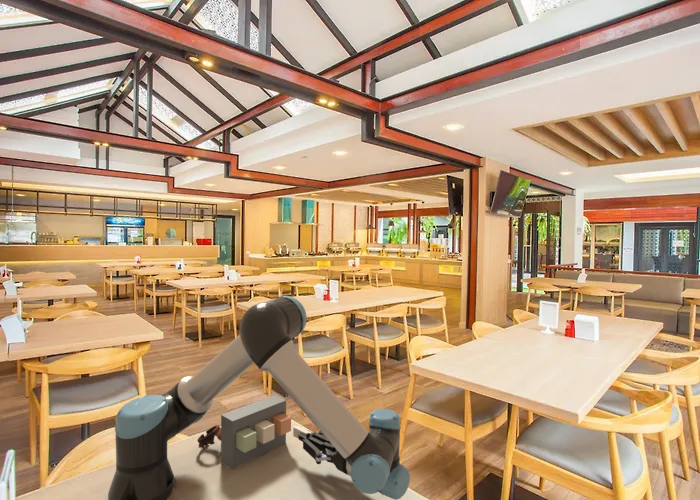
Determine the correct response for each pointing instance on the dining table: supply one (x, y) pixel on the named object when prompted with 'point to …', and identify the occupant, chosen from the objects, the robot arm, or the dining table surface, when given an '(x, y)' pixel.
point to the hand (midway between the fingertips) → (295, 430)
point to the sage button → (245, 439)
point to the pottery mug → (209, 436)
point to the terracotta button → (281, 423)
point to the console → (248, 419)
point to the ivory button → (264, 431)
